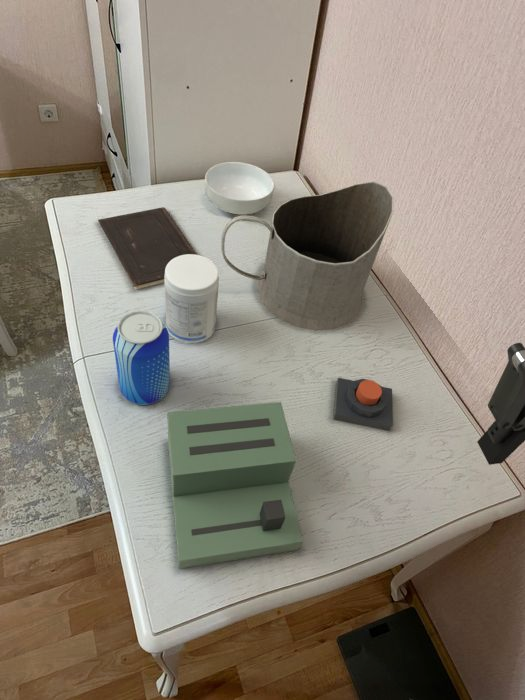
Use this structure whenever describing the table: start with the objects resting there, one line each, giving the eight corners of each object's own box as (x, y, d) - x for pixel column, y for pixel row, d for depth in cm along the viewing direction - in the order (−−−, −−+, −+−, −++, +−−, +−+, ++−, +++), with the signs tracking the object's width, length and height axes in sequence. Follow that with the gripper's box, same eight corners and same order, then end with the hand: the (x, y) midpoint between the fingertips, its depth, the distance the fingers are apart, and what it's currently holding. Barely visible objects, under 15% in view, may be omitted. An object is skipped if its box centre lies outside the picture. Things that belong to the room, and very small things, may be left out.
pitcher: (376, 329, 104) (421, 230, 85) (226, 341, 97) (238, 235, 78) (342, 257, 118) (373, 158, 99) (208, 262, 111) (215, 156, 92)
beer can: (147, 417, 84) (142, 356, 71) (109, 392, 86) (98, 328, 74) (179, 385, 89) (180, 323, 76) (143, 362, 91) (138, 298, 79)
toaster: (297, 551, 72) (312, 523, 65) (178, 570, 69) (179, 543, 61) (271, 437, 84) (281, 401, 76) (168, 448, 80) (167, 411, 72)
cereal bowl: (218, 229, 119) (220, 204, 114) (194, 190, 128) (195, 165, 123) (281, 219, 125) (286, 194, 120) (254, 182, 134) (257, 158, 129)
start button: (378, 407, 86) (382, 401, 84) (355, 403, 86) (358, 396, 84) (378, 389, 89) (381, 382, 87) (356, 384, 89) (359, 377, 87)
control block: (388, 433, 88) (396, 419, 84) (331, 422, 88) (338, 407, 84) (387, 397, 93) (395, 382, 90) (334, 386, 93) (340, 371, 90)
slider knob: (280, 528, 70) (285, 517, 67) (262, 531, 69) (266, 520, 66) (277, 510, 72) (281, 499, 69) (259, 513, 71) (263, 501, 68)
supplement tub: (186, 303, 102) (187, 245, 91) (224, 324, 99) (230, 267, 88) (155, 331, 96) (152, 273, 85) (195, 354, 94) (198, 297, 82)
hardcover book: (134, 293, 102) (133, 285, 100) (99, 228, 114) (97, 219, 112) (206, 275, 108) (207, 267, 106) (165, 214, 120) (165, 206, 118)
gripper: (685, 248, 38) (524, 416, 56) (540, 252, 36) (419, 427, 53) (764, 319, 34) (561, 477, 52) (605, 330, 31) (448, 494, 49)
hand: (489, 452), depth 52 cm, fingers closed
